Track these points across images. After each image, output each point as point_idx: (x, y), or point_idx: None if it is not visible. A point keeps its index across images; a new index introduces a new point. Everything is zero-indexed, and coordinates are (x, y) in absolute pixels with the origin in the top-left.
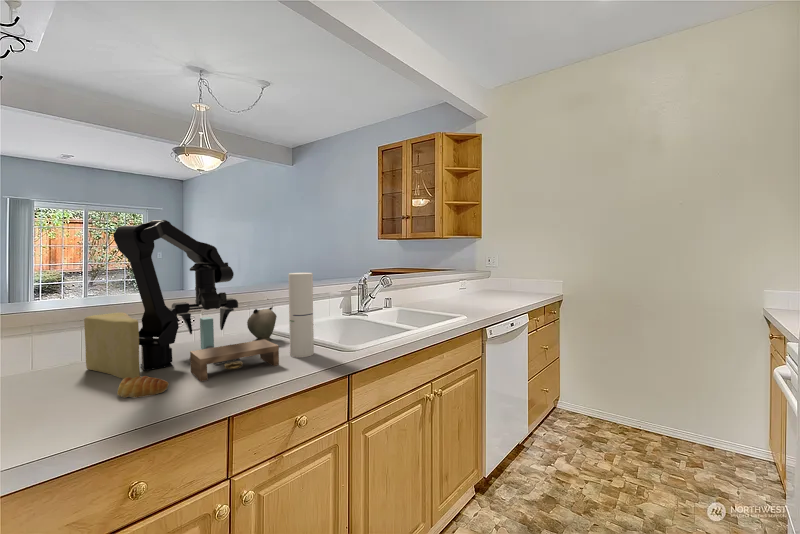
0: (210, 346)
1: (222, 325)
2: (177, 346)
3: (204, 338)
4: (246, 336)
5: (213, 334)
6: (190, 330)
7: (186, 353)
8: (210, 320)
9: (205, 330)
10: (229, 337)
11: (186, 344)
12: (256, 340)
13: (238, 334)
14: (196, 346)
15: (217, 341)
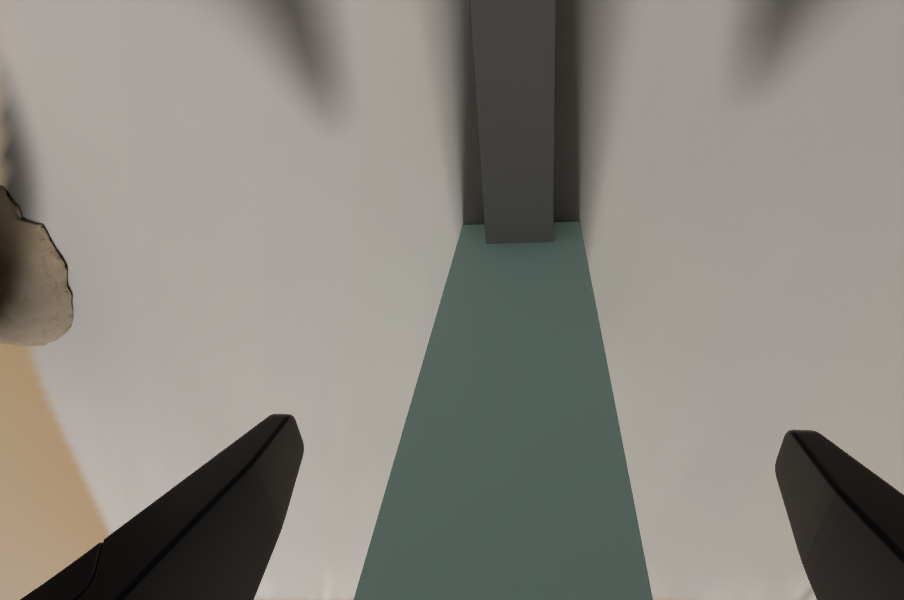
0: (507, 214)
1: (234, 465)
2: (715, 527)
3: (584, 301)
4: (150, 484)
5: (435, 330)
6: (868, 478)
7: (792, 222)
8: (437, 584)
9: (571, 394)
10: (281, 530)
11: None
12: (7, 258)
13: None
14: None
15: (382, 480)
